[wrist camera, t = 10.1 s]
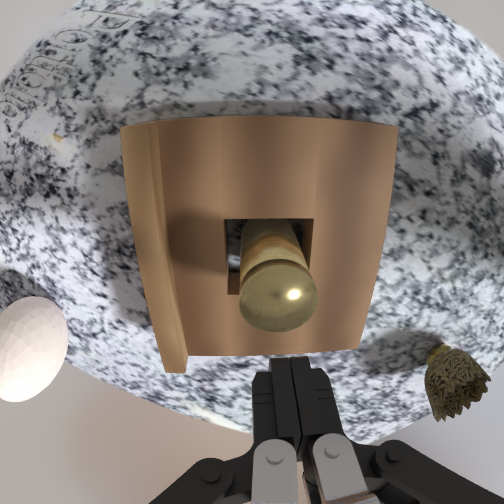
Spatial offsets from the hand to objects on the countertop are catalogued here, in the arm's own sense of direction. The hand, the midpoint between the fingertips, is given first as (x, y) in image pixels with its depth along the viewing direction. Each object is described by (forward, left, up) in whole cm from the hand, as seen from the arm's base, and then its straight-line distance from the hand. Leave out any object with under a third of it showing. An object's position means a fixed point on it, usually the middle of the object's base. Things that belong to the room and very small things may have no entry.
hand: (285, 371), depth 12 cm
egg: (+21, +7, -13) cm, 25 cm away
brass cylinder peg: (0, 0, -12) cm, 13 cm away
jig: (0, 0, -12) cm, 13 cm away
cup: (-21, +15, -13) cm, 29 cm away
